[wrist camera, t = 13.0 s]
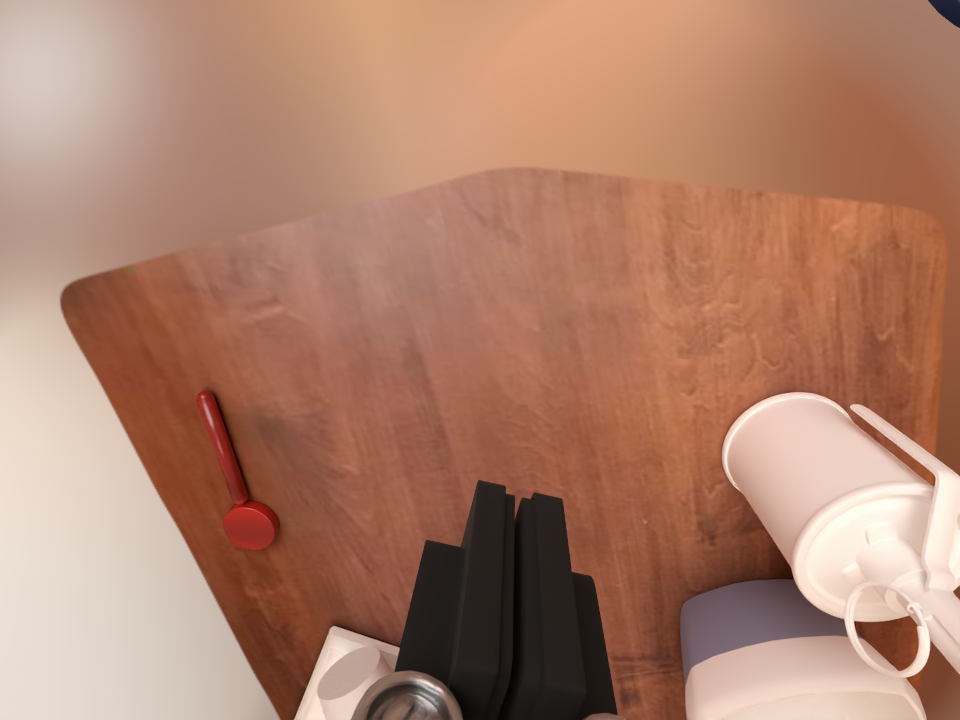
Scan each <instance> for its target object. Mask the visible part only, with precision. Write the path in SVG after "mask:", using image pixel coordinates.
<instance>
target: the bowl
mask: <svg viewBox="0 0 960 720" xmlns="http://www.w3.org/2000/svg"><path fill="white" fill-rule="evenodd" d="M856 634H857V633H856ZM857 636H858V639H859V641H860V643H861V645H862V647H863V648H864V650H865V651H866V653H867V654H868V655H869V656H870V658H871V659H872V660H873V661H875V662H876V663H877V664H878V665H880V666H881V667H883V668H885V669H887V670H890V671H894V672H898V670H897V669H896V668H895V667H894V666H892V665H891V664H890V663H889V662H888V661H887V660H886V659H885V658H884V657H883V656H882V655H881V654H879V653H878V652H877V651H876V650H875V649H874V648H873V647H872V646H871V645H870V644H869V643H867V642H866V641H865V640H864V639H862V638H861V637H860V636H859V635H858V634H857ZM680 639H681V651H682V663H683V675H684V687H685V705H686V717H687V720H927V718H926V715H925V711H924V708H923V706H922V703H921V701H920V698H919V695H918V693H917V692H916V690H915V689H914V688H913V687H912V685H911V684H910V683H909V682H908V680H907V679H906V678H897V677H889V676H886V675H883V674H881V673H879V672H877V671H875V670H874V669H872V668H871V667H869V666H868V665H867V664H866V663H865V662H864V661H863V660H862V659H861V658H860V656H859V655H858V654H857V652H856V651H855V649H854V648H853V646H852V644H851V642H850V640H849V637H848V634H847V631H846V627H845V622H844V621H843V620H842V619H840V618H838V617H835V616H833V615H830V614H828V613H826V612H824V611H822V610H820V609H819V608H817V607H816V606H814V605H813V604H812V603H811V602H809V601H808V600H807V599H806V598H805V596H804V595H803V594H802V593H801V591H800V590H799V588H798V587H797V585H796V583H795V580H792V579H769V580H753V581H746V582H739V583H735V584H731V585H727V586H723V587H720V588H717V589H714V590H711V591H708V592H705V593H702V594H699V595H696V596H694V597H692V598H691V599H689V600H687V601H686V602H685V603H684V604H683V606H682V609H681V612H680Z"/></svg>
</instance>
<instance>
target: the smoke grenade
mask: <svg viewBox="0 0 960 720" xmlns="http://www.w3.org/2000/svg"><path fill="white" fill-rule="evenodd" d="M850 408H851V409H852V410H853V411H854V412H855V413H857V414H858V415H859V416H861V417H862V418H863V419H864V420H866V421H867V422H868V423H869V424H871V425H872V426H873V427H875V428H876V429H877V430H878V431H880V432H881V433H882V434H884V435H885V436H886V437H887V438H889V439H890V440H891V441H893V442H894V443H895V444H896V445H898V446H899V447H900V448H902V449H903V450H904V451H905V452H907V453H908V454H909V455H911V456H912V457H913V458H914V459H916V460H917V461H918V462H919V463H921V464H922V465H923V466H925V467H926V468H927V469H928V470H929V471H931V472H932V473H933V474H934V475H935V478H936V483H935V487H934V486H932V485H930V484H929V483H928V482H927V481H925V480H924V479H923V478H922V477H920V476H919V475H918V474H917V473H915V472H914V471H913V470H912V469H910V468H909V467H908V466H907V465H905V464H904V463H903V462H902V461H900V460H899V459H898V458H897V457H896V456H894V455H893V454H892V453H891V452H889V451H888V450H887V449H886V448H884V447H883V446H882V445H881V444H879V443H878V442H877V441H876V440H875V439H873V438H872V437H871V436H870V435H868V434H867V433H866V432H865V431H863V430H862V429H861V428H860V427H859V426H857V425H856V424H855V423H854V422H853V421H852V419H851V418H850V416H849V415H848V414H847V412H846V411H845V410H844V409H843V408H842V407H841V406H839V405H838V404H837V403H835V402H834V401H832V400H830V399H828V398H826V397H823V396H820V395H817V394H812V393H805V392H792V393H784V394H780V395H776V396H772V397H770V398H767V399H765V400H762V401H760V402H758V403H757V404H755V405H753V406H752V407H750V408H749V409H747V410H746V411H745V412H744V413H743V414H742V415H740V416H739V417H738V419H737V420H736V421H735V422H734V423H733V425H732V426H731V428H730V429H729V431H728V433H727V435H726V437H725V440H724V443H723V448H722V464H723V468H724V471H725V473H726V475H727V477H728V479H729V481H730V482H731V483H732V484H733V486H734V487H735V488H736V489H737V490H739V491H740V492H741V493H743V495H744V496H745V498H746V499H747V501H748V502H749V504H750V505H751V507H752V508H753V510H754V511H755V513H756V515H757V516H758V518H759V519H760V521H761V522H762V524H763V525H764V527H765V528H766V530H767V531H768V533H769V534H770V536H771V537H772V539H773V541H774V542H775V544H776V545H777V547H778V548H779V550H780V551H781V553H782V554H783V556H784V557H785V559H786V560H787V562H788V564H789V565H790V567H791V569H792V574H793V577H794V580H795V583H796V585H797V587H798V588H799V590H800V591H801V593H802V594H803V595H804V596H805V598H806V599H807V600H808V601H809V602H811V603H812V604H813V605H814V606H816V607H817V608H819V609H820V610H822V611H824V612H826V613H828V614H830V615H833V616H835V617H838V618H842V619H844V620H845V627H846V631H847V634H848V637H849V640H850V642H851V644H852V646H853V648H854V649H855V651H856V652H857V654H858V655H859V656H860V658H861V659H862V660H863V661H864V662H865V663H866V664H867V665H868V666H869V667H871V668H872V669H874V670H875V671H877V672H879V673H881V674H883V675H886V676H889V677H897V678H906V677H910V676H913V675H915V674H917V673H918V672H919V671H920V670H921V669H922V668H923V667H924V666H925V664H926V662H927V659H928V657H929V652H930V640H931V641H932V642H933V643H934V645H935V646H936V647H937V648H938V650H939V651H940V652H941V653H942V654H943V655H944V657H945V658H946V659H947V660H948V661H949V662H950V664H951V665H952V666H953V667H954V669H955V670H956V671H957V672H958V673H959V674H960V600H959V599H958V598H957V597H956V596H955V595H954V593H953V591H954V590H955V589H956V588H957V587H958V586H959V585H960V476H959V475H957V474H956V473H955V472H954V471H952V470H951V469H950V468H948V467H947V466H946V465H945V464H943V463H942V462H941V461H939V460H938V459H937V458H935V457H934V456H933V455H931V454H930V453H928V452H927V451H926V450H924V449H923V448H922V447H920V446H919V445H918V444H916V443H915V442H914V441H912V440H911V439H909V438H908V437H907V436H905V435H904V434H903V433H901V432H900V431H899V430H897V429H896V428H895V427H893V426H892V425H890V424H889V423H888V422H886V421H885V420H884V419H882V418H881V417H879V416H878V415H877V414H875V413H874V412H872V411H871V410H870V409H868V408H866V407H864V406H862V405H858V404H854V405H851V406H850ZM909 615H910V616H911V618H912V619H913V620H914V621H915V622H916V623H917V625H918V626H917V632H918V640H919V647H918V653H917V656H916V658H915V660H914V662H913V663H912V664H911V665H910V666H909V667H908V668H906V669H905V670H902V671H898V672H894V671H890V670H887V669H885V668H883V667H881V666H880V665H878V664H877V663H876V662H875V661H873V660H872V659H871V658H870V656H869V655H868V654H867V653H866V651H865V650H864V648H863V647H862V645H861V643H860V641H859V639H858V636H857V634H856V630H855V625H854V621H860V622H879V621H888V620H893V619H898V618H902V617H906V616H909Z"/></svg>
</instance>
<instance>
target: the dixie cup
mask: <svg viewBox="0 0 960 720" xmlns="http://www.w3.org/2000/svg"><path fill="white" fill-rule="evenodd" d="M392 673H394V672H393V671H392V669H391V668H390V666H389V665H388V663H387V662H386V660H385V659H384V657H383V656H382V654H381V653H380V652H379V650H378V649H377V648H375V647H372V646H367V647H362V648H359V649H356V650H354V651H352V652H350V653H348V654H346V655H345V656H343V657H342V658H340V659H339V660H338V661H337V662H335V663H334V664H333V665H332V666H331V667H330V668H329V669H328V670H327V672H326V673H325V674H324V675H323V677H322V678H321V680H320V682H319V684H318V688H317V694H318V697H319V700H320V703H321V706H322V708H323V711H324V714H325V717H326V720H351V718H352V715H353V713H354V711H355V709H356V707H357V705H358V703H359V701H360V699H361V698H362V696H363V695H364V693H365V692H366V690H367V689H368V688H369V687H370V686H371V685H373V684H374V683H375V682H376V681H377V680H379V679H380V678H382V677H384V676H387V675H389V674H392Z"/></svg>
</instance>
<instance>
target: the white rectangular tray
mask: <svg viewBox="0 0 960 720" xmlns="http://www.w3.org/2000/svg"><path fill="white" fill-rule="evenodd" d="M367 646H372V647H375V648H377V649H378V650H379V652H380V653H381V654H382V656H383V657H384V659H385V660H386V662H387V663H388V665H389V666H390V668H391V669H392V671H393V672H394V670H395V666H396V662H397V658H398V654H399V649H400V648H399V647H396V646H393V645H390V644H387V643H384V642H381V641H378V640H375V639H372V638H369V637H366V636H363V635H360V634H357V633H354V632H351V631H348V630H345V629H342V628H339V627H336V626H333V627H332V628H330V631H329V633H328V636H327V638H326V641H325V643H324V646H323V648H322V651H321V653H320V656H319V658H318V661H317V663H316V666H315V668H314V671H313V674H312V676H311V679H310V681H309V684H308V686H307V689H306V691H305V694H304V696H303V699H302V701H301V704H300V706H299V709H298V711H297V714H296V716H295V719H294V720H326V717H325V714H324V713H323V708H322V706H321V703H320V700H319V697H318V694H317V688H318V684H319V682H320V680H321V678H322V677H323V675H324V674H325V673H326V672H327V670H328V669H329V668H330V667H331V666H332V665H333V664H334V663H335V662H337V661H338V660H339V659H340V658H342V657H343V656H345V655H346V654H348V653H350V652H352V651H354V650H356V649H359V648H362V647H367Z"/></svg>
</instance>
